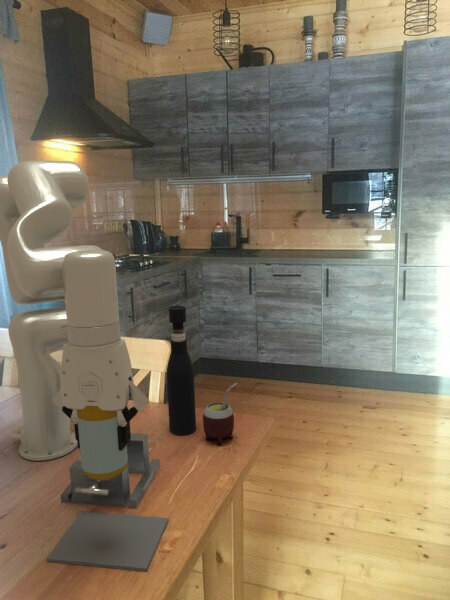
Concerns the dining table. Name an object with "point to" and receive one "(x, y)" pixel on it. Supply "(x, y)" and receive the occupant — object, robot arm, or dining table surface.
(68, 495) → the vise
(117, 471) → the bottle
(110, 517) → the mat
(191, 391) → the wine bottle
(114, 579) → the dining table surface
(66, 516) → the dining table surface
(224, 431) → the mate gourd
